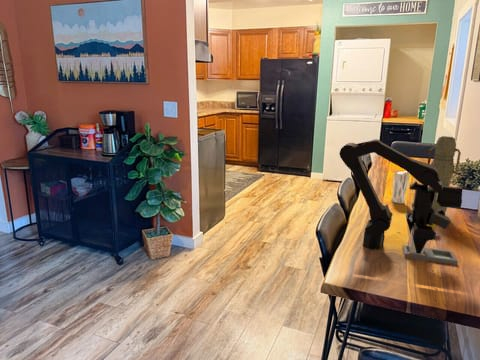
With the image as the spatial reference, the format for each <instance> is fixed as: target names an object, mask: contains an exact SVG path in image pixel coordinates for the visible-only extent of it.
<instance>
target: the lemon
mask: <svg viewBox="0 0 480 360" xmlns="http://www.w3.org/2000/svg"><path fill="white" fill-rule="evenodd" d="M427 226H431V227H432V228H433V229H434V231H435V232H436V231H437V229H438V228H439V226H438V225H435V224H433V225H428V224H427Z"/></svg>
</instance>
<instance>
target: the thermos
mask: <svg viewBox="0 0 480 360" xmlns="http://www.w3.org/2000/svg"><path fill="white" fill-rule="evenodd" d="M456 141H457V140H456V138H454V136H446V135H445V136H443V135H442V136H439V137H438V139H437V140H436V143H435V146H432V147H431V148H429V150H428V157H427V164H430V165H433V166H434V167H436V169H437V171H438V178H439V180H440V181H441V182H442V186H451V185H450V184H451V180H452V178H453V176H454V174H457V173H458V170H459V164H460V158H461V154H462V153H461V151H460V149H459V148H457V142H456ZM433 150H434V156H433V160H432V161H431V159H432V152H433ZM456 152H457V153H458V154H457V159H456V164H454V157H455V153H456ZM428 187H429V188H431V187H430V186H428ZM436 198H437V193H435V197H434V203H433V209H434V211H437V210H438V209H441V210H443V211H444V212H445V213H446V211H447V208H448V207H441V206H439V204H438V203H436Z"/></svg>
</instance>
